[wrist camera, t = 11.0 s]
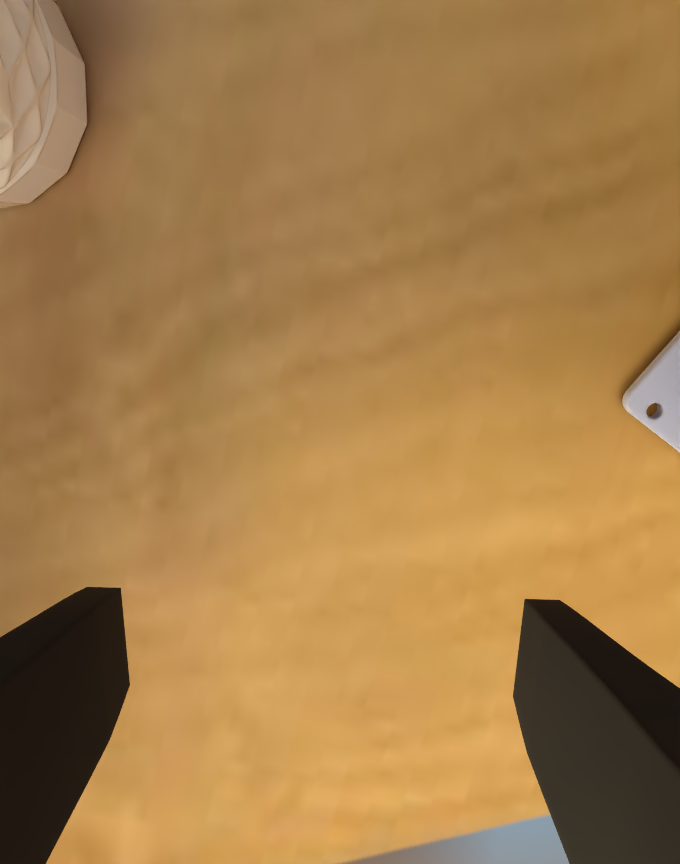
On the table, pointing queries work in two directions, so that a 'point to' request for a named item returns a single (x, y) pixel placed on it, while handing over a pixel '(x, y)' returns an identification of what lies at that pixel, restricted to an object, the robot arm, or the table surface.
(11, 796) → the robot arm
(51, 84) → the white cup
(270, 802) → the table surface
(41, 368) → the table surface
